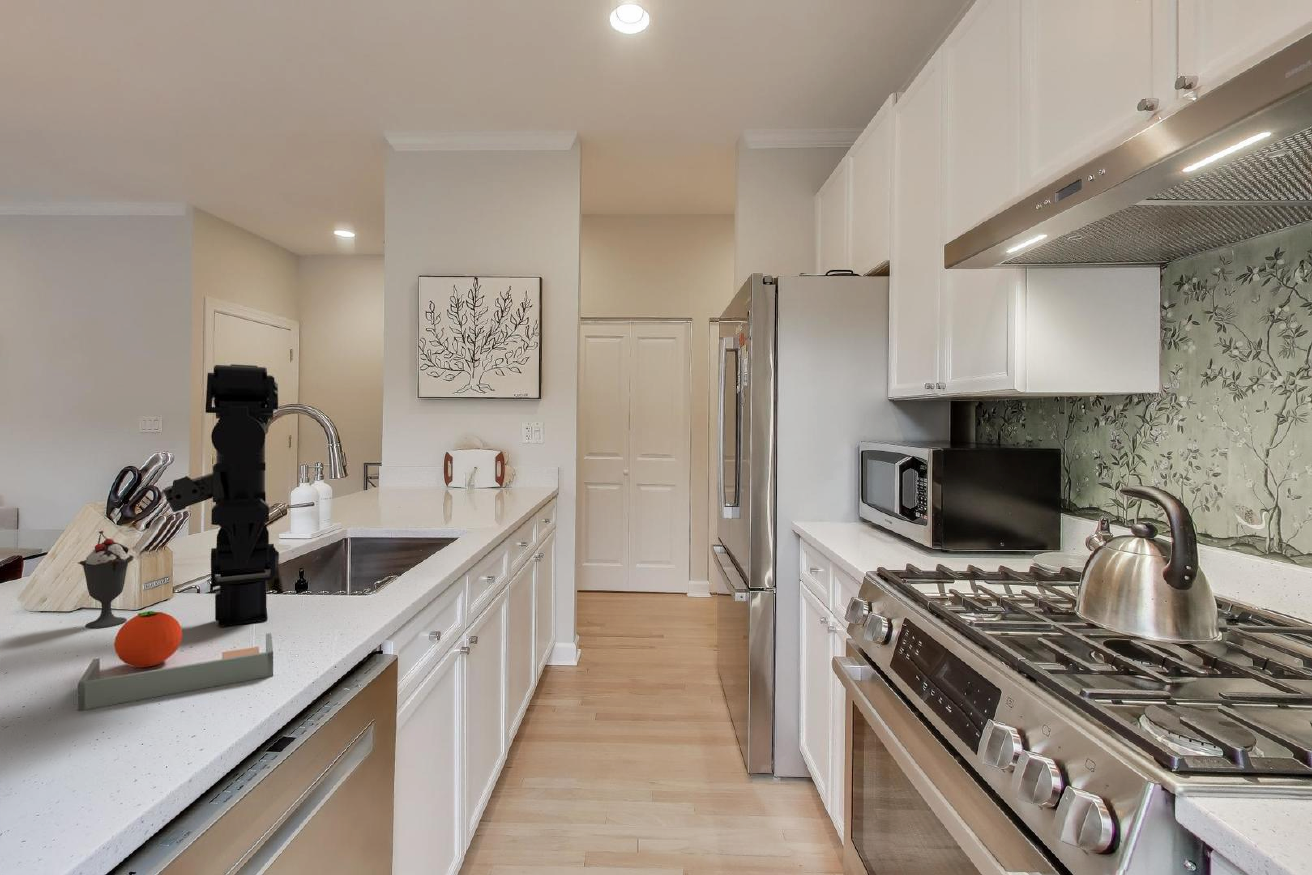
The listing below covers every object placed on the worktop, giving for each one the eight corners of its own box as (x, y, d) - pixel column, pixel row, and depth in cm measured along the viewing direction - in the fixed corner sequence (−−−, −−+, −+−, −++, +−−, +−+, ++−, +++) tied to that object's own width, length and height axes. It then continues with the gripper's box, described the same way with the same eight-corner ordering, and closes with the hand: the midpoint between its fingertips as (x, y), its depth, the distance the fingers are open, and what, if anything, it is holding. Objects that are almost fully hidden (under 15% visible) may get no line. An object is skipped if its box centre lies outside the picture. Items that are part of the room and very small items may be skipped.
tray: (271, 654, 86) (271, 633, 86) (273, 675, 79) (273, 652, 79) (93, 683, 76) (93, 659, 76) (77, 710, 69) (77, 683, 69)
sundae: (86, 633, 93) (86, 533, 93) (71, 625, 97) (70, 529, 96) (141, 621, 99) (140, 528, 98) (124, 614, 102) (124, 523, 102)
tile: (258, 664, 83) (258, 646, 83) (259, 675, 80) (259, 656, 80) (222, 671, 81) (222, 652, 81) (221, 682, 78) (221, 662, 78)
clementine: (104, 665, 82) (104, 611, 81) (168, 649, 87) (168, 599, 87) (124, 680, 77) (124, 623, 77) (190, 663, 83) (190, 610, 83)
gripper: (174, 452, 91) (175, 559, 91) (160, 460, 75) (161, 588, 75) (264, 451, 97) (264, 551, 97) (269, 458, 81) (268, 577, 82)
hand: (240, 565), depth 88 cm, fingers closed
